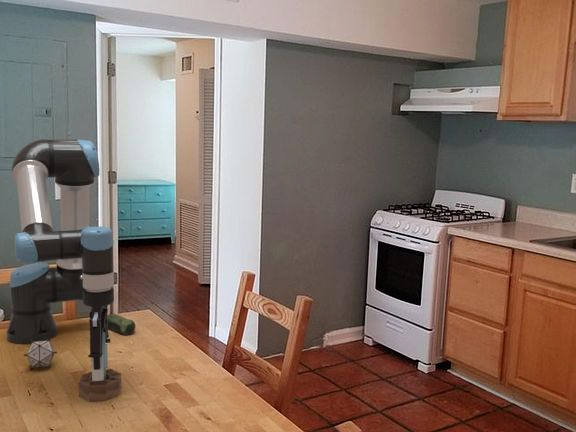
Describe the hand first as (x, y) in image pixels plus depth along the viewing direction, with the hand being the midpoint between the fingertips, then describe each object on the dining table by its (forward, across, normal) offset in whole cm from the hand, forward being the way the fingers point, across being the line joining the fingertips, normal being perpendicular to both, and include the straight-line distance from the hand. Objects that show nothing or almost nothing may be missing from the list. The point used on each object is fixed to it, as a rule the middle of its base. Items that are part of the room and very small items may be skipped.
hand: (100, 373), depth 147 cm
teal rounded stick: (+5, 0, 0) cm, 5 cm away
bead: (+5, 0, 0) cm, 5 cm away
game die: (+5, -18, -19) cm, 27 cm away
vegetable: (+5, -46, -1) cm, 47 cm away
